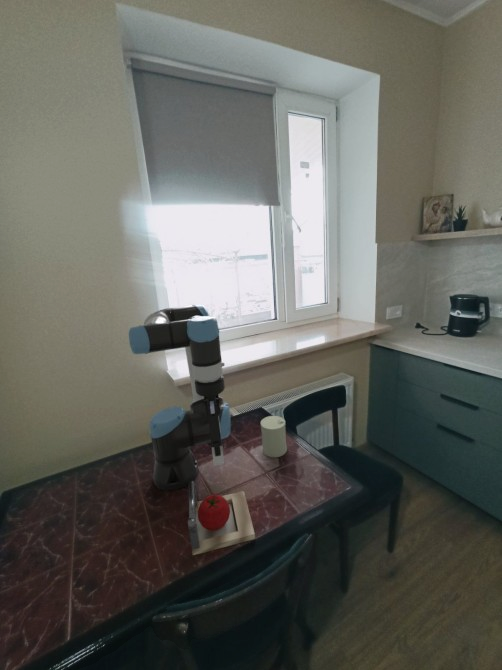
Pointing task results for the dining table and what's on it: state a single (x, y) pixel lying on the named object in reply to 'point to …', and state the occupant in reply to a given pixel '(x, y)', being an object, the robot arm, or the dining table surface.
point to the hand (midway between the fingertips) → (217, 447)
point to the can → (273, 436)
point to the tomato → (213, 512)
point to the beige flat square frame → (227, 526)
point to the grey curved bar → (193, 516)
